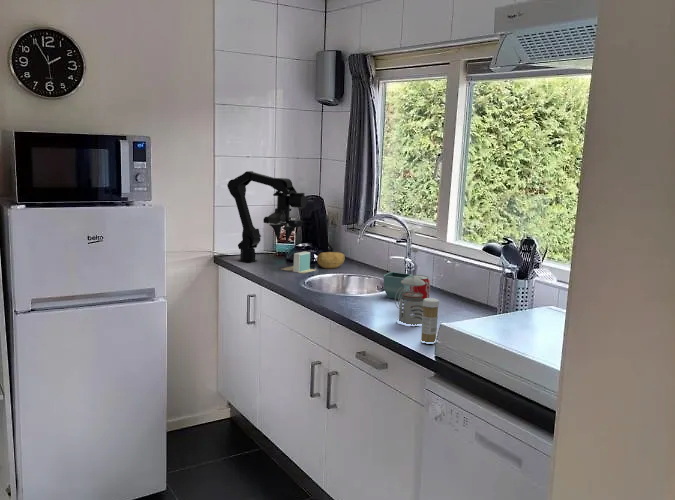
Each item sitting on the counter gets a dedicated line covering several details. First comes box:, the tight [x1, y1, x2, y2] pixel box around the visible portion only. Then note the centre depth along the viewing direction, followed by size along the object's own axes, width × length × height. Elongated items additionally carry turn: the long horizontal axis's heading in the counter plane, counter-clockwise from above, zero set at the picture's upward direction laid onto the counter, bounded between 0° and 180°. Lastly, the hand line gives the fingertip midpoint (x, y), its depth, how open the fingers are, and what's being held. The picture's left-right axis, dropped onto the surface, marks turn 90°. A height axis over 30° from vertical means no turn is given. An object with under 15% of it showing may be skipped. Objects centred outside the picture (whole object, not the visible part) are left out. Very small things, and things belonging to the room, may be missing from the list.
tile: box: [292, 251, 311, 273], centre depth 276 cm, size 3×8×8 cm, turn 147°
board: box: [281, 265, 316, 274], centre depth 279 cm, size 13×10×1 cm
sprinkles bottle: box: [420, 297, 440, 342], centre depth 185 cm, size 5×5×14 cm
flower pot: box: [382, 271, 413, 300], centre depth 239 cm, size 9×9×9 cm
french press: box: [394, 247, 426, 325], centre depth 204 cm, size 10×12×25 cm
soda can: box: [409, 274, 431, 308], centre depth 223 cm, size 7×7×12 cm
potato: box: [316, 251, 346, 270], centre depth 287 cm, size 10×14×8 cm
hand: (282, 240), depth 287 cm, fingers open, 5 cm apart
